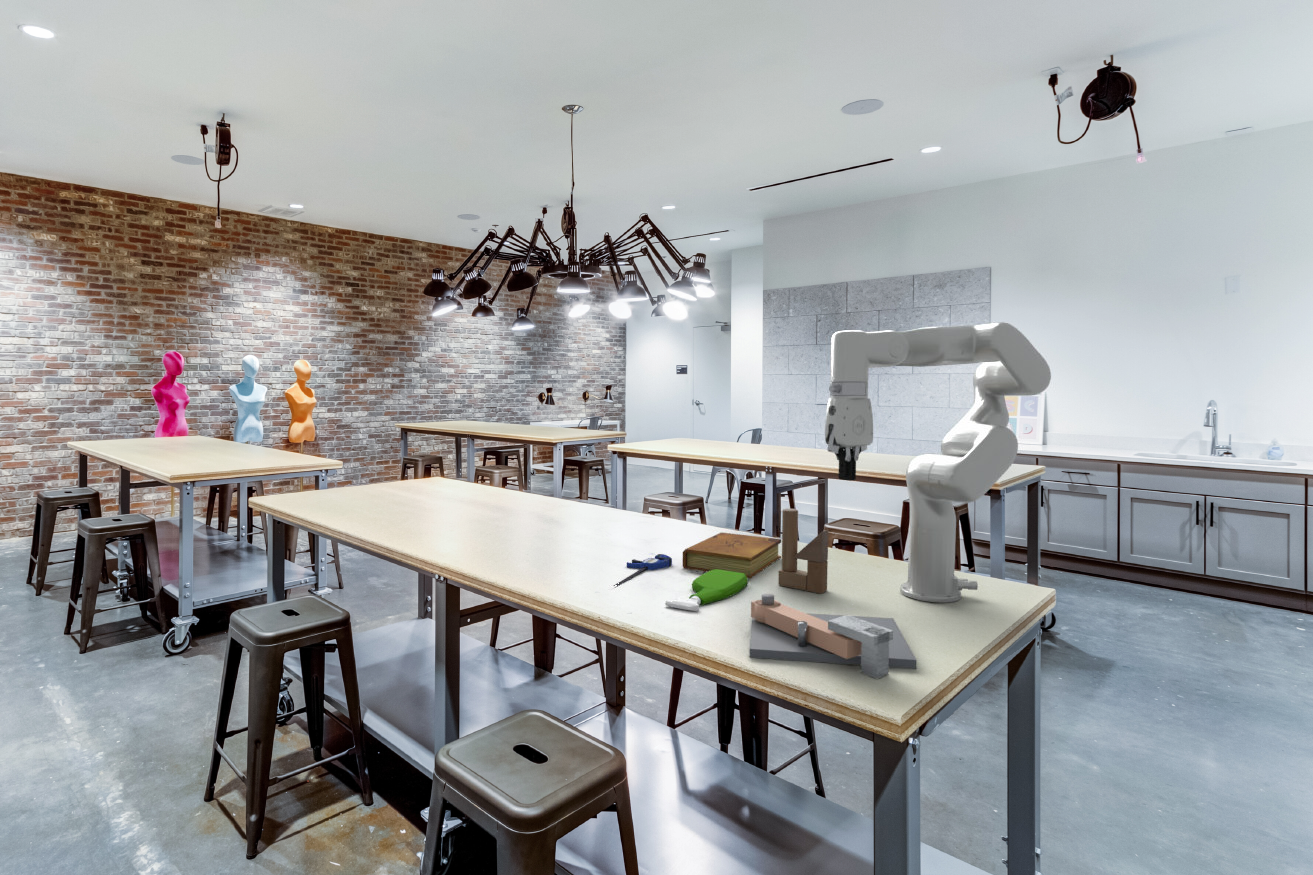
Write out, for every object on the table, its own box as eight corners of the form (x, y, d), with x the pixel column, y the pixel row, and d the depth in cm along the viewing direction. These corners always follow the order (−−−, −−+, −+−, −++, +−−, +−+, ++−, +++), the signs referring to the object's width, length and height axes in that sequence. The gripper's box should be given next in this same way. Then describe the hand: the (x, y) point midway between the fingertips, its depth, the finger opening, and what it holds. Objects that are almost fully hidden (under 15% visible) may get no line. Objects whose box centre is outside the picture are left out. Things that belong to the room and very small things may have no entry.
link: (748, 617, 124) (749, 594, 124) (768, 612, 127) (768, 590, 127) (844, 659, 104) (845, 632, 104) (865, 653, 107) (866, 626, 107)
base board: (892, 625, 125) (893, 618, 125) (916, 668, 106) (916, 659, 106) (752, 617, 130) (752, 610, 130) (749, 657, 110) (749, 648, 110)
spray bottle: (751, 586, 153) (705, 618, 132) (710, 579, 158) (659, 609, 137) (751, 573, 152) (705, 604, 131) (710, 567, 158) (659, 595, 137)
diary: (718, 551, 187) (718, 532, 186) (781, 559, 178) (781, 539, 177) (682, 569, 167) (682, 547, 166) (750, 580, 158) (751, 556, 157)
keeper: (795, 653, 112) (796, 613, 112) (821, 644, 116) (822, 606, 115) (865, 683, 100) (866, 639, 100) (892, 672, 104) (893, 630, 104)
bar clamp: (642, 551, 176) (676, 555, 172) (642, 559, 176) (676, 564, 172) (577, 587, 147) (615, 592, 143) (577, 597, 147) (616, 603, 143)
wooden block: (821, 594, 145) (822, 515, 144) (777, 585, 152) (778, 509, 150) (827, 590, 148) (829, 512, 147) (785, 582, 154) (786, 507, 153)
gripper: (837, 391, 126) (835, 484, 128) (887, 391, 134) (885, 479, 136) (809, 391, 133) (808, 480, 134) (858, 391, 141) (857, 475, 142)
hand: (847, 479), depth 135 cm, fingers closed
